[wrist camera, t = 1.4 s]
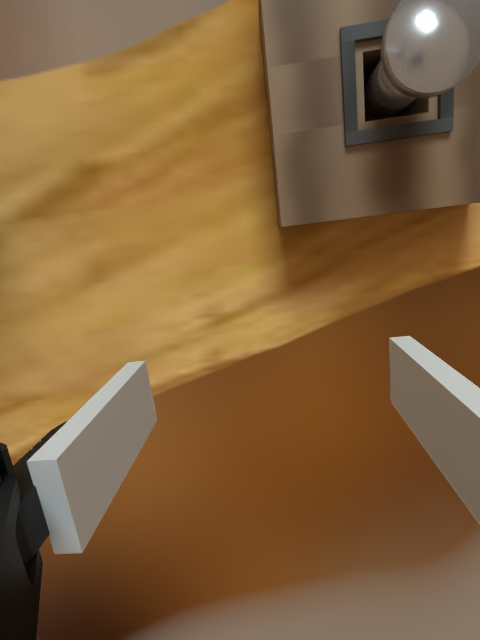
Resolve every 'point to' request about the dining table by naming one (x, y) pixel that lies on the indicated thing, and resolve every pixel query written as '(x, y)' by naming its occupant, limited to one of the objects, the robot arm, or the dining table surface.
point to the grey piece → (424, 52)
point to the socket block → (357, 120)
